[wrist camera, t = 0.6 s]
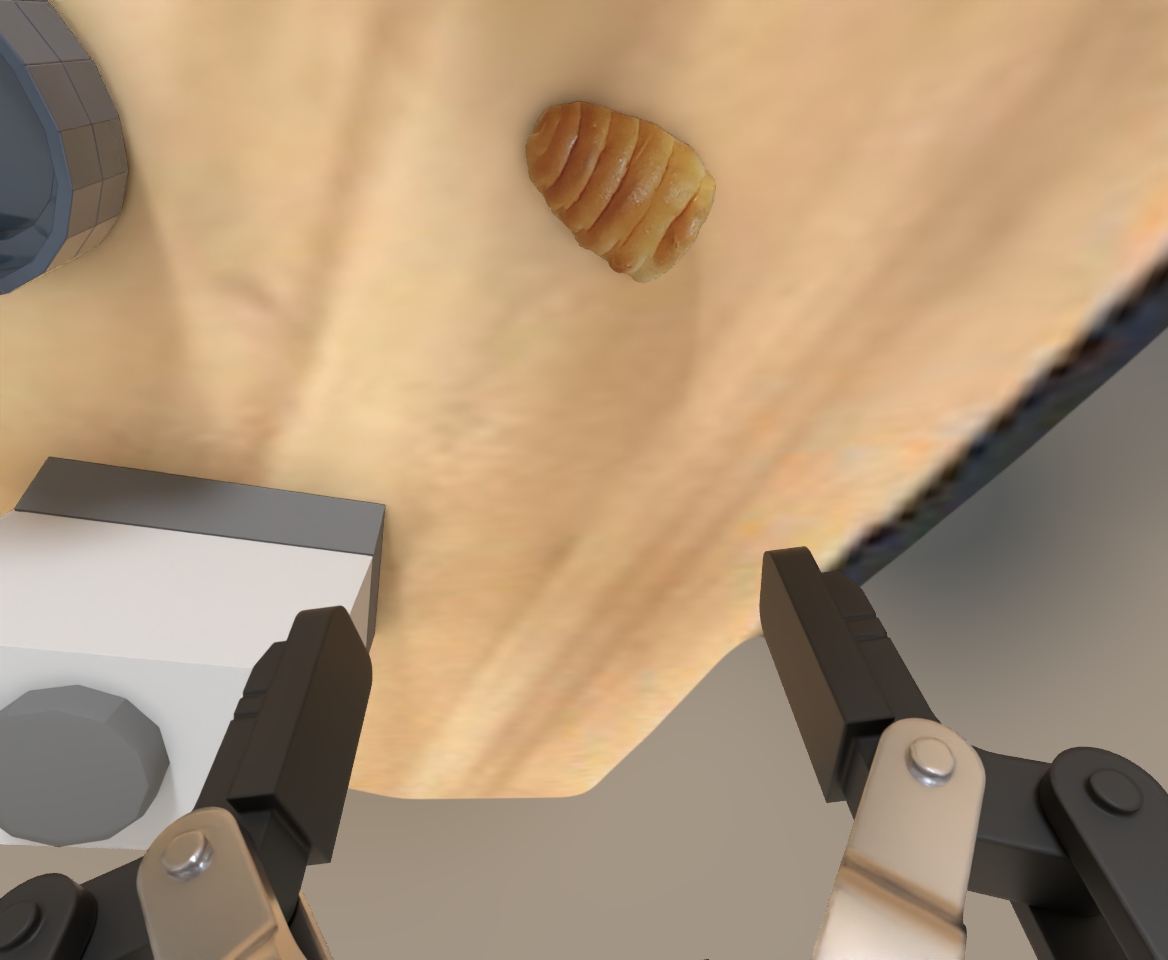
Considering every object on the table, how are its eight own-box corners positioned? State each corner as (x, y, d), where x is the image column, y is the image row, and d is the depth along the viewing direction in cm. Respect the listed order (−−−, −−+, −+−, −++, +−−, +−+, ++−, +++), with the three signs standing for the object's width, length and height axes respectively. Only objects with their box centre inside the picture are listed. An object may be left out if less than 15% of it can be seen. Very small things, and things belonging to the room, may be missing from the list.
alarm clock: (89, 605, 47) (-146, 914, 31) (39, 425, 39) (-325, 723, 22) (374, 634, 51) (300, 923, 35) (387, 477, 43) (297, 763, 26)
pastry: (500, 187, 33) (497, 204, 30) (570, 54, 30) (575, 57, 26) (647, 283, 36) (658, 307, 33) (723, 172, 33) (744, 187, 30)
